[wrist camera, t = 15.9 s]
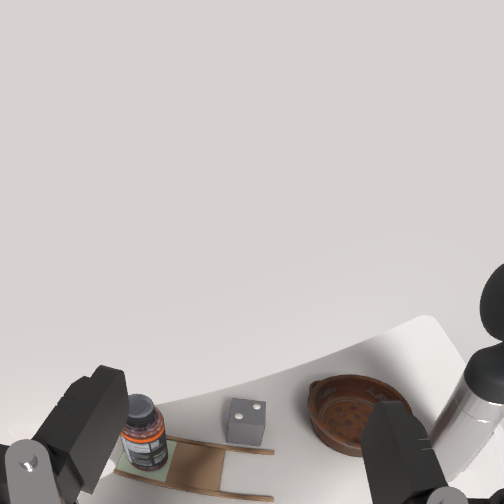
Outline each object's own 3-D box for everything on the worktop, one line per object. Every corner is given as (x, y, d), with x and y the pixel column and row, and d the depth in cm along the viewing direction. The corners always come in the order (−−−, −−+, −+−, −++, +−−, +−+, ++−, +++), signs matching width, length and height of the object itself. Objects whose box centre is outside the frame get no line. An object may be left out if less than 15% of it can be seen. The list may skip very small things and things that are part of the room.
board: (273, 452, 40) (274, 450, 40) (273, 501, 31) (273, 500, 31) (133, 429, 40) (132, 427, 40) (114, 472, 32) (113, 471, 31)
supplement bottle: (138, 435, 39) (127, 381, 35) (175, 449, 38) (170, 396, 34) (119, 463, 33) (103, 410, 30) (158, 479, 32) (149, 429, 29)
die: (262, 422, 46) (266, 400, 44) (261, 446, 41) (265, 425, 39) (230, 418, 46) (232, 396, 44) (226, 442, 41) (228, 421, 39)
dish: (342, 376, 59) (348, 356, 57) (427, 436, 42) (440, 417, 40) (273, 409, 49) (277, 388, 47) (367, 494, 32) (381, 477, 30)
